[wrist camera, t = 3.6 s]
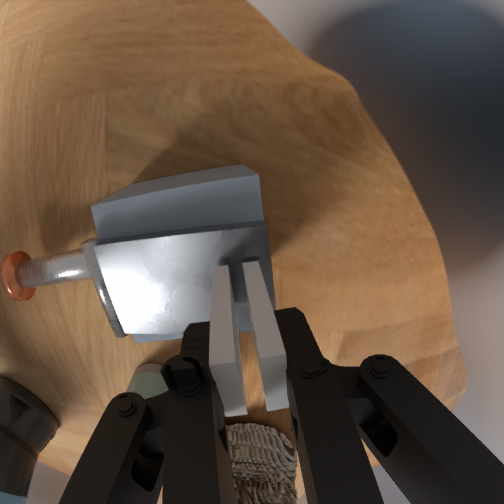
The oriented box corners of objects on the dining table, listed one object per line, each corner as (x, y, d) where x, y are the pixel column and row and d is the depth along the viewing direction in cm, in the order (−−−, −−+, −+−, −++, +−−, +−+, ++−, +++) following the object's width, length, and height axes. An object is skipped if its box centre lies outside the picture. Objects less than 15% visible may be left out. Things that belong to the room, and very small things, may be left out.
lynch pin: (34, 287, 23) (13, 310, 18) (19, 246, 21) (-6, 264, 17) (164, 266, 24) (155, 292, 19) (152, 215, 22) (138, 232, 18)
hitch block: (155, 285, 27) (135, 343, 18) (130, 184, 23) (90, 206, 14) (256, 269, 27) (274, 324, 19) (242, 163, 24) (259, 174, 15)
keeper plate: (119, 326, 17) (111, 337, 16) (88, 238, 15) (77, 245, 14) (277, 321, 16) (277, 334, 15) (266, 215, 14) (266, 222, 13)
